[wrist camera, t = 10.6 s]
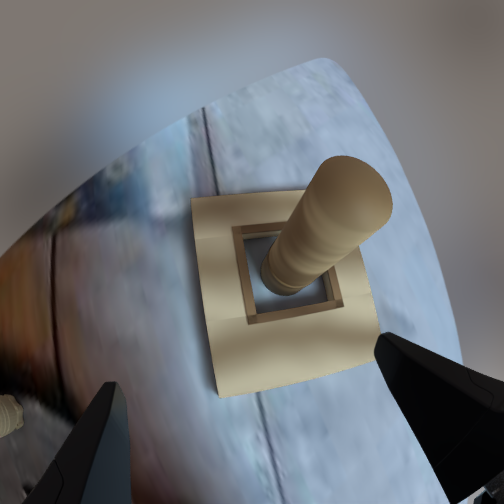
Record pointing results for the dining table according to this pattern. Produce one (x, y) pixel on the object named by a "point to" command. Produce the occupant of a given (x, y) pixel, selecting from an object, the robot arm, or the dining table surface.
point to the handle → (10, 415)
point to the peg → (327, 223)
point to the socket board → (277, 322)
